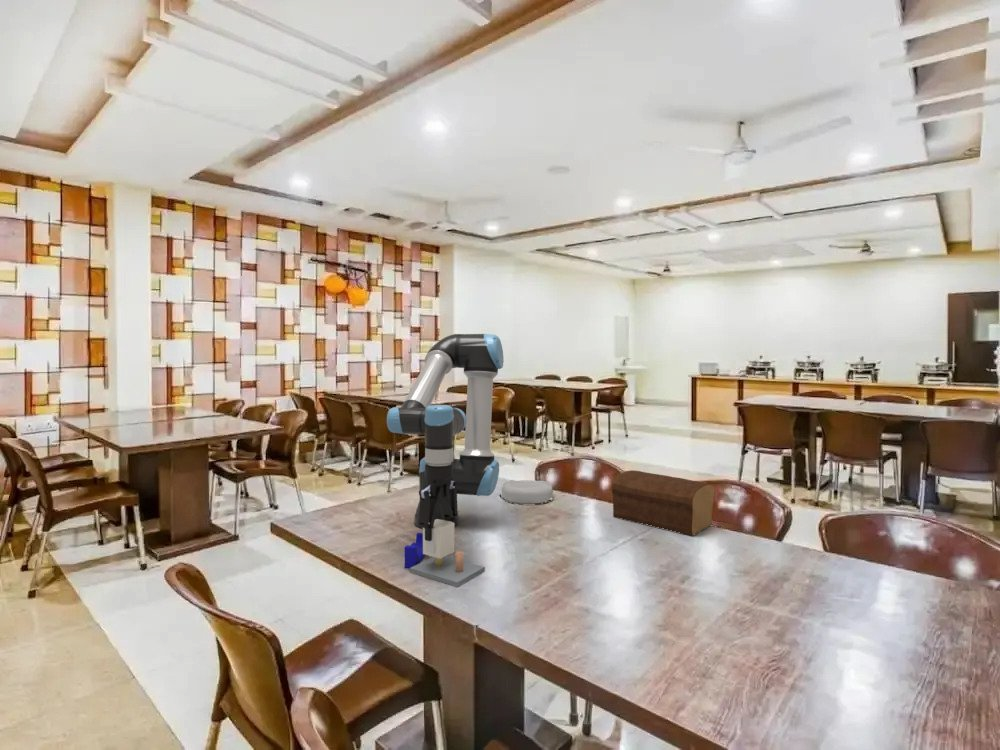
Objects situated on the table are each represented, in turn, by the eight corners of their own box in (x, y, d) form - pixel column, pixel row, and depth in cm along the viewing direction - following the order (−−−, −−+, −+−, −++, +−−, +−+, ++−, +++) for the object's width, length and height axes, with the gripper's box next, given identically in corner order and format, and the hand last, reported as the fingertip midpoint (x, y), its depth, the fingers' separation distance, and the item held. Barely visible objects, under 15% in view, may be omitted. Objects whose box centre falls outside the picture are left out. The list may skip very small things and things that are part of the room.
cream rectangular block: (437, 547, 156) (437, 518, 156) (454, 551, 153) (454, 522, 152) (422, 553, 151) (422, 524, 151) (440, 558, 148) (440, 528, 147)
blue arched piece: (412, 552, 165) (412, 532, 165) (427, 553, 164) (427, 533, 164) (399, 568, 153) (399, 546, 153) (415, 569, 152) (415, 547, 152)
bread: (691, 538, 178) (692, 488, 177) (609, 518, 199) (610, 473, 198) (714, 525, 192) (715, 478, 191) (635, 507, 212) (636, 465, 211)
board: (438, 558, 160) (438, 536, 160) (484, 571, 151) (485, 548, 151) (409, 572, 150) (409, 549, 150) (457, 587, 141) (457, 562, 141)
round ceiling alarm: (490, 505, 214) (490, 489, 214) (501, 489, 239) (501, 474, 238) (556, 509, 210) (556, 493, 209) (560, 492, 234) (560, 477, 234)
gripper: (450, 456, 161) (450, 535, 162) (403, 467, 145) (403, 555, 146) (471, 459, 156) (471, 540, 158) (426, 471, 141) (425, 562, 142)
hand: (438, 547), depth 152 cm, fingers closed on cream rectangular block, 6 cm apart
